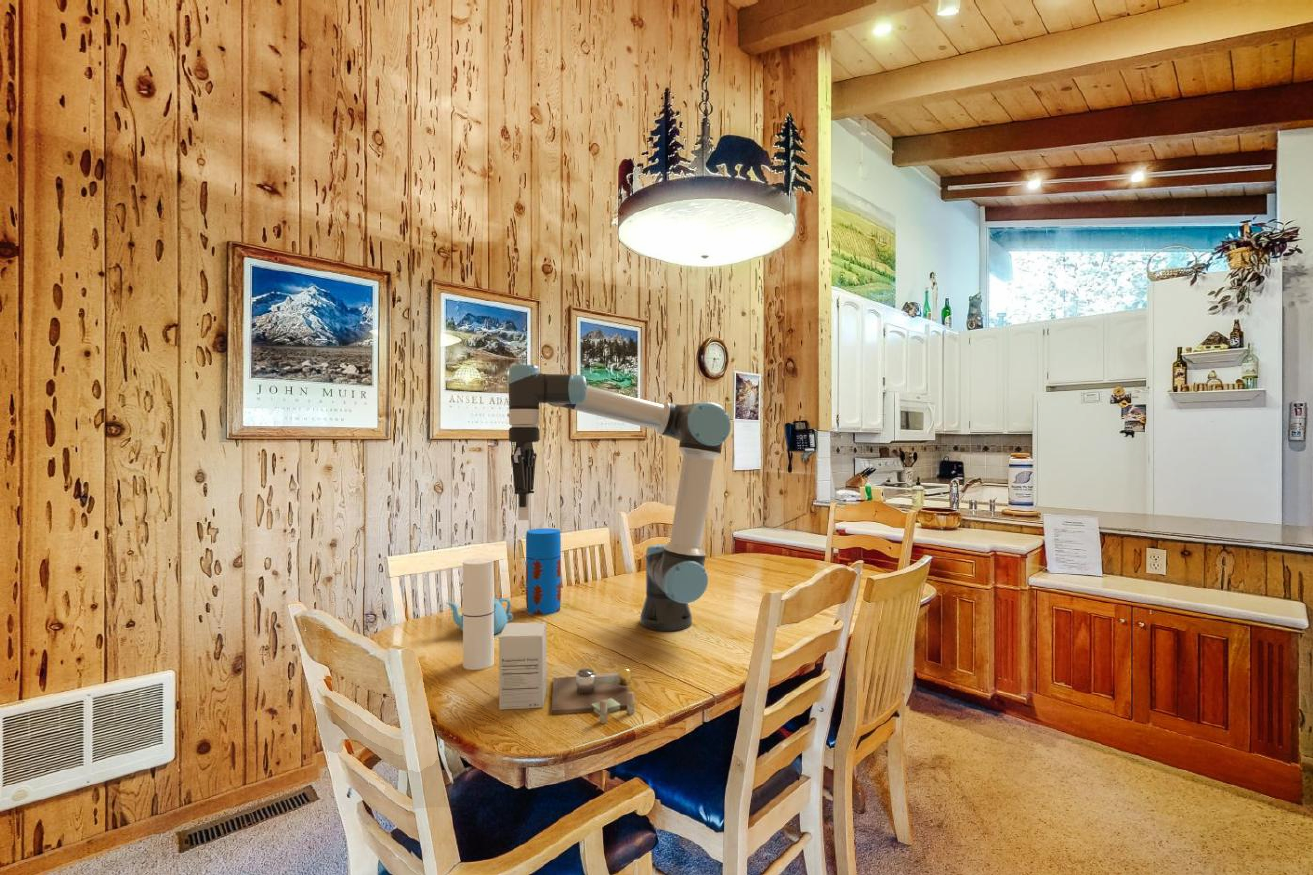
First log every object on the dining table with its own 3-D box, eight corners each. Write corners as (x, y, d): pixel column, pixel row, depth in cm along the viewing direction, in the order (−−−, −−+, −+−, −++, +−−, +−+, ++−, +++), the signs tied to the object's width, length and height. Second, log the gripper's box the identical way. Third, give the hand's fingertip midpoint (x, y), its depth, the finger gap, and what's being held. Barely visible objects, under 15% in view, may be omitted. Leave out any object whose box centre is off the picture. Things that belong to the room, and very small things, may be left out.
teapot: (519, 625, 175) (519, 589, 175) (494, 642, 160) (494, 603, 160) (474, 621, 178) (474, 586, 178) (445, 637, 163) (445, 600, 163)
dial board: (625, 676, 137) (625, 659, 137) (636, 721, 116) (636, 700, 116) (553, 681, 134) (553, 663, 134) (551, 727, 113) (551, 706, 113)
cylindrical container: (466, 672, 140) (465, 565, 140) (460, 661, 146) (460, 559, 146) (496, 666, 143) (496, 562, 143) (490, 656, 149) (490, 556, 149)
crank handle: (576, 693, 125) (576, 675, 125) (576, 685, 129) (576, 668, 129) (631, 690, 127) (631, 672, 127) (629, 682, 131) (629, 665, 131)
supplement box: (505, 691, 129) (505, 622, 129) (547, 689, 130) (547, 621, 130) (497, 710, 120) (497, 636, 120) (542, 708, 121) (542, 635, 121)
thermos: (553, 616, 183) (553, 534, 183) (520, 614, 185) (520, 533, 185) (565, 606, 193) (565, 528, 193) (534, 604, 196) (534, 527, 195)
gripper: (518, 426, 158) (518, 516, 158) (500, 426, 145) (500, 523, 145) (546, 426, 157) (546, 516, 158) (530, 426, 144) (530, 523, 145)
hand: (524, 519), depth 151 cm, fingers closed
